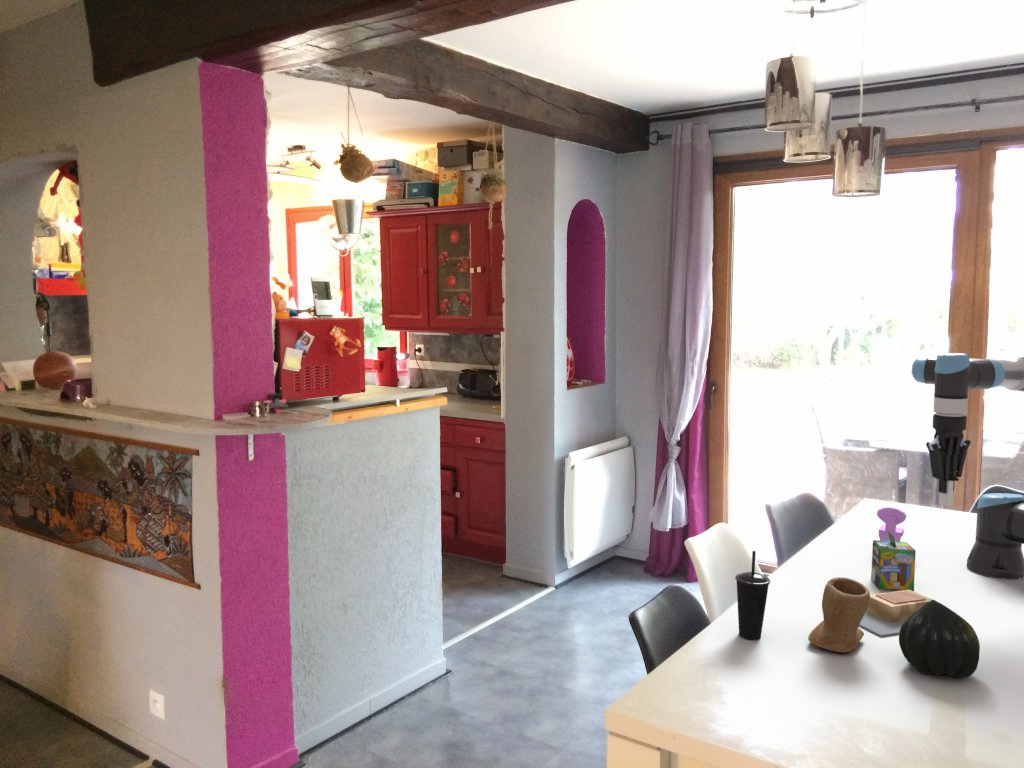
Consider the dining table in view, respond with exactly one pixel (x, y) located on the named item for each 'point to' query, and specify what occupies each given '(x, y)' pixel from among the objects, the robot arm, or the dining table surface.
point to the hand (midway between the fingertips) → (945, 504)
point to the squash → (939, 641)
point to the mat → (880, 625)
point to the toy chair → (891, 523)
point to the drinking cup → (751, 602)
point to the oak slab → (896, 605)
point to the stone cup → (841, 615)
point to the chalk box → (893, 564)
